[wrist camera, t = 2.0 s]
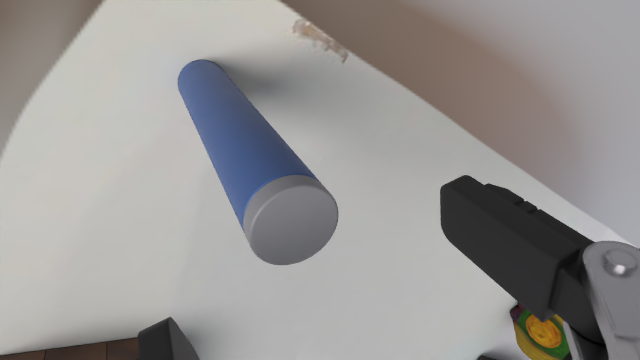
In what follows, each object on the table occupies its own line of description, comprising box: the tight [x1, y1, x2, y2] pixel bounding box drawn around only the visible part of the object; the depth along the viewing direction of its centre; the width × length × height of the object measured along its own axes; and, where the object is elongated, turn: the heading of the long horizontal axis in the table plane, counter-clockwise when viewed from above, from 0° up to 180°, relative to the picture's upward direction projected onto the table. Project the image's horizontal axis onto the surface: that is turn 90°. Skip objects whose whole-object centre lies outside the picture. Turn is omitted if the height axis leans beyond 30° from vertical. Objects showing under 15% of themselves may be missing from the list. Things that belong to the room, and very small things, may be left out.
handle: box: [178, 60, 338, 265], centre depth 18 cm, size 3×3×16 cm
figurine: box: [510, 302, 573, 360], centre depth 56 cm, size 10×7×15 cm
